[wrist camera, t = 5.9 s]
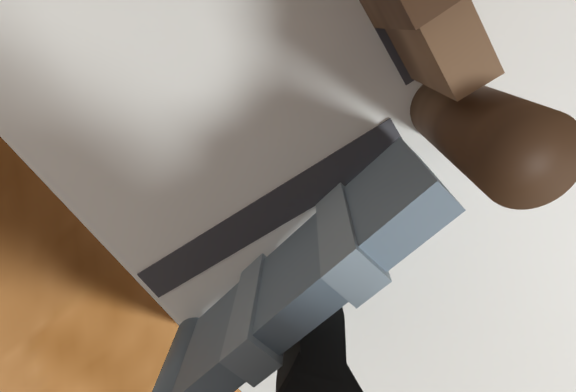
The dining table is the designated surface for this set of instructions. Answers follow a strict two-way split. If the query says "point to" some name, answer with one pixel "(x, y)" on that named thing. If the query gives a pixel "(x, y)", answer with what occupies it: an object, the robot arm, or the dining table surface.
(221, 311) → the fence folding panel
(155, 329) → the dining table surface
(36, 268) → the dining table surface
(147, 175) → the card
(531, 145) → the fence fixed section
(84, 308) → the dining table surface
